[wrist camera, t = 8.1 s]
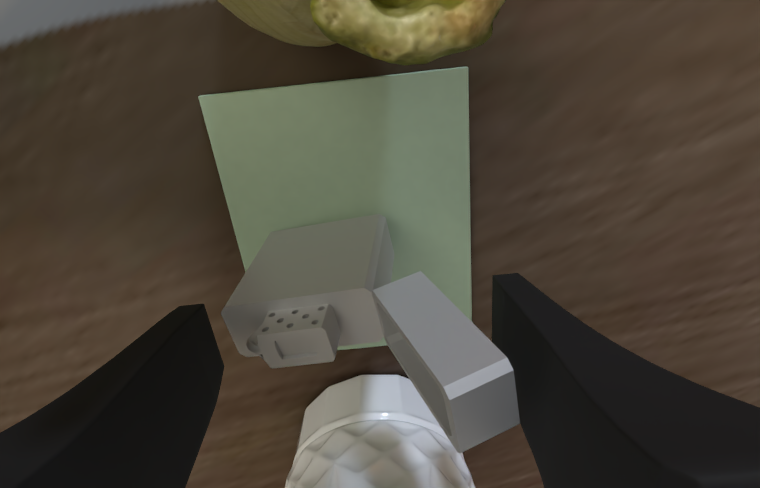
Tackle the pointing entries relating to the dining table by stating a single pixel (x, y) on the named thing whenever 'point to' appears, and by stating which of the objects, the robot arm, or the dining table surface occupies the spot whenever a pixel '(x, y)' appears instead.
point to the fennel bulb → (375, 25)
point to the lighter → (371, 322)
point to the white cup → (374, 440)
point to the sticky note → (354, 166)
